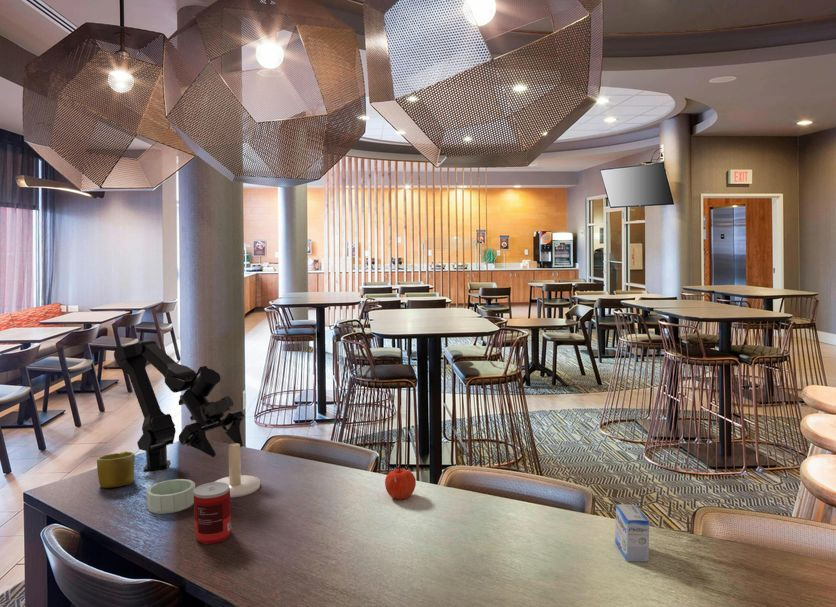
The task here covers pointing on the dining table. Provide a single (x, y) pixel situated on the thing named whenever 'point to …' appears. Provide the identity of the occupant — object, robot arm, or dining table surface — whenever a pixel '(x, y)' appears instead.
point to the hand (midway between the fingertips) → (228, 451)
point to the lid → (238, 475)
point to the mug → (116, 469)
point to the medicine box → (632, 533)
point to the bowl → (170, 496)
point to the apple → (400, 483)
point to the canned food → (212, 512)
